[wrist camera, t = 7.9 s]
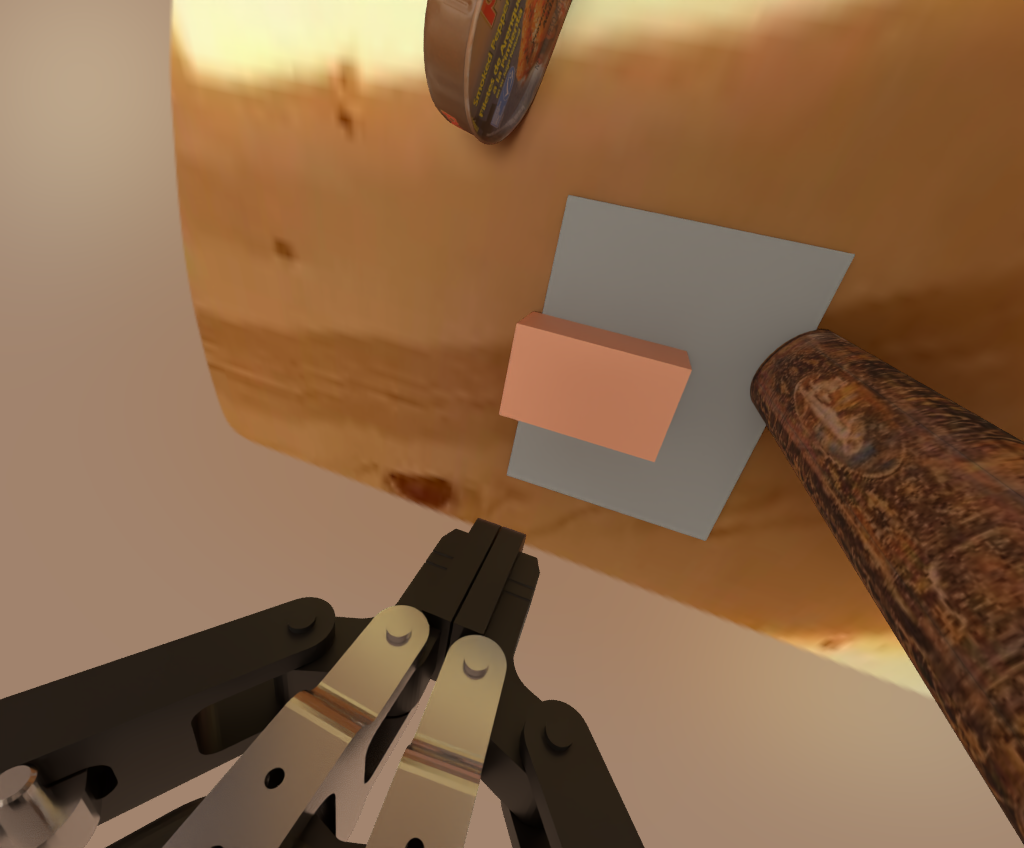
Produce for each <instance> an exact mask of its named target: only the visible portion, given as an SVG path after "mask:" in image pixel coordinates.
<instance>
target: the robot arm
mask: <svg viewBox="0 0 1024 848" xmlns="http://www.w3.org/2000/svg"><path fill="white" fill-rule="evenodd" d="M525 538H526V534H523V533H520V532H517V531H515V530H512V529H509V528H506V527H501V526H500V525H497V524H494V523H492V522H489V521H486V520H483V519H480V518H478V519H477V520H476V522H475V523H474V525H473V527H472V528H471V530H470V532H469V533H466V532H464V531H461V530H458V529H455V530H453V531H451V532H450V533H448V534H447V535H445V536H443V537H442V538H441V540H440V541H439V543H438V544H437V546H436V547H435V549H434V550H433V552H432V553H431V554H430V556H429V557H428V559H427V560H426V563H424V565H423V566H422V567H421V569H420V570H419V572H418V573H417V575H416V576H415V578H414V579H413V581H412V582H411V584H410V585H409V587H408V588H407V589H406V591H405V593H404V594H403V595H402V597H401V598H400V600H399V602H397V604H396V605H395V606H392V607H389V608H386V609H385V610H383V611H381V612H380V613H378V614H377V615H376V616H375V617H372V618H365V619H358V618H345V617H335V613H334V610H333V608H332V607H331V605H330V604H329V603H328V602H326V601H324V600H322V599H319V598H313V597H306V598H301V599H296V600H293V601H290V602H287V603H284V604H281V605H279V606H275V607H273V608H270V609H266V610H264V611H260V612H258V613H255V614H252V615H249V616H246V617H243V618H240V619H237V620H234V621H231V622H228V623H225V624H222V625H219V626H216V627H213V628H210V629H207V630H204V631H201V632H198V633H196V634H192V635H189V636H187V637H184V638H181V639H178V640H175V641H172V642H169V643H166V644H163V645H160V646H157V647H154V648H151V649H148V650H145V651H142V652H139V653H136V654H134V655H130V656H127V657H125V658H121V659H118V660H116V661H113V662H110V663H107V664H104V665H101V666H98V667H95V668H92V669H89V670H86V671H83V672H80V673H77V674H75V675H71V676H68V677H65V678H63V679H59V680H56V681H53V682H50V683H48V684H45V685H42V686H39V687H36V688H33V689H30V690H27V691H24V692H21V693H18V694H15V695H12V696H9V697H6V698H4V699H1V700H0V848H84V847H85V845H86V844H87V843H88V841H89V840H90V838H91V837H92V835H93V833H94V831H95V829H96V827H97V826H98V825H100V824H102V823H104V822H106V821H108V820H110V819H112V818H114V817H116V816H118V815H120V814H122V813H124V812H126V811H128V810H130V809H132V808H134V807H136V806H139V805H141V804H143V803H145V802H146V801H149V800H150V799H152V798H154V797H157V796H159V795H161V794H163V793H165V792H167V791H169V790H171V789H173V788H175V787H177V786H179V785H181V784H183V783H185V782H187V781H189V780H191V779H193V778H195V777H197V776H199V775H201V774H203V773H205V772H207V771H209V770H211V769H213V768H215V767H218V766H220V765H221V764H223V763H226V762H228V761H230V760H232V759H234V758H236V757H237V756H240V755H242V754H243V755H242V756H241V757H240V758H239V759H238V760H237V761H236V763H235V764H234V765H233V766H232V767H231V769H230V770H229V771H228V772H227V773H226V774H225V775H224V777H223V778H222V779H221V780H220V781H219V782H218V784H217V785H216V786H215V787H214V788H213V789H212V790H211V792H210V793H209V794H208V795H207V796H205V797H202V798H199V799H197V800H194V801H192V802H189V803H187V804H185V805H183V806H181V807H179V808H177V809H175V810H173V811H171V812H169V813H167V814H166V815H164V816H162V817H160V818H158V819H156V820H155V821H153V822H151V823H149V824H147V825H146V826H144V827H142V828H140V829H139V830H137V831H135V832H133V833H131V834H129V835H127V836H126V837H124V838H122V839H120V840H118V841H117V842H115V843H113V844H111V845H110V846H107V847H106V848H464V844H465V839H466V835H467V831H468V827H469V823H470V818H471V815H472V811H473V806H474V803H475V799H476V795H477V791H478V786H479V782H480V779H481V780H482V781H483V782H484V783H485V784H486V785H487V786H488V787H489V788H490V789H491V790H492V791H493V793H494V794H495V795H496V796H497V797H498V798H499V799H500V800H501V806H502V811H503V815H504V818H505V822H506V825H507V829H508V833H509V836H510V840H511V843H512V847H513V848H644V846H643V844H642V841H641V839H640V837H639V835H638V833H637V831H636V829H635V826H634V824H633V822H632V820H631V818H630V816H629V814H628V811H627V809H626V807H625V805H624V803H623V801H622V799H621V797H620V794H619V792H618V790H617V788H616V786H615V784H614V782H613V780H612V777H611V775H610V773H609V771H608V769H607V767H606V764H605V762H604V760H603V758H602V756H601V754H600V752H599V750H598V747H597V745H596V743H595V741H594V739H593V737H592V735H591V732H590V730H589V728H588V726H587V724H586V723H585V721H584V719H583V718H582V716H581V715H580V714H579V713H578V712H577V711H576V710H575V709H574V708H573V707H571V706H570V705H568V704H566V703H564V702H561V701H557V700H547V701H543V702H542V701H541V700H540V699H539V698H538V697H537V696H535V695H534V694H533V693H532V692H531V691H530V690H529V689H528V688H527V687H526V686H524V684H523V683H522V682H521V680H520V679H519V677H518V675H517V673H516V670H515V667H514V662H513V661H514V660H513V657H514V653H515V651H516V647H517V644H518V641H519V638H520V635H521V632H522V629H523V626H524V623H525V620H526V617H527V614H528V611H529V608H530V605H531V601H532V597H533V594H534V591H535V588H536V584H537V581H538V577H539V573H540V572H539V566H538V560H537V558H536V557H533V556H530V555H528V554H525V553H522V550H523V546H524V542H525ZM430 679H432V680H434V681H436V683H435V686H434V689H433V691H432V693H431V696H430V698H429V701H428V704H427V706H426V709H425V711H424V714H423V716H422V719H421V721H420V724H419V727H418V729H417V732H416V734H415V737H414V739H413V741H412V743H411V744H410V745H409V746H408V747H407V748H406V750H405V752H404V754H403V757H402V759H401V761H400V763H399V766H398V768H397V771H396V773H395V776H394V778H393V781H392V783H391V786H390V788H389V791H388V793H387V796H386V798H385V801H384V803H383V805H382V808H381V810H380V813H379V815H378V818H377V820H376V823H375V825H374V828H373V831H372V833H371V835H370V838H369V840H368V843H367V845H366V844H357V843H350V842H347V840H348V838H349V837H350V835H351V833H352V831H353V829H354V827H355V825H356V823H357V821H358V819H359V816H360V814H361V811H362V809H363V806H364V803H365V800H366V798H367V796H368V794H369V791H370V790H371V788H372V786H373V784H374V782H375V780H376V779H377V777H378V775H379V774H380V772H381V770H382V769H383V767H384V765H385V763H386V762H387V760H388V758H389V756H390V755H391V753H392V751H393V750H394V748H395V746H396V744H397V743H398V741H399V739H400V738H401V736H402V734H403V732H404V731H405V729H406V727H407V725H408V724H409V722H410V720H411V719H412V717H413V715H414V713H415V711H416V710H417V707H418V704H419V700H420V698H421V696H422V694H423V692H424V690H425V688H426V686H427V684H428V682H429V680H430Z"/></svg>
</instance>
